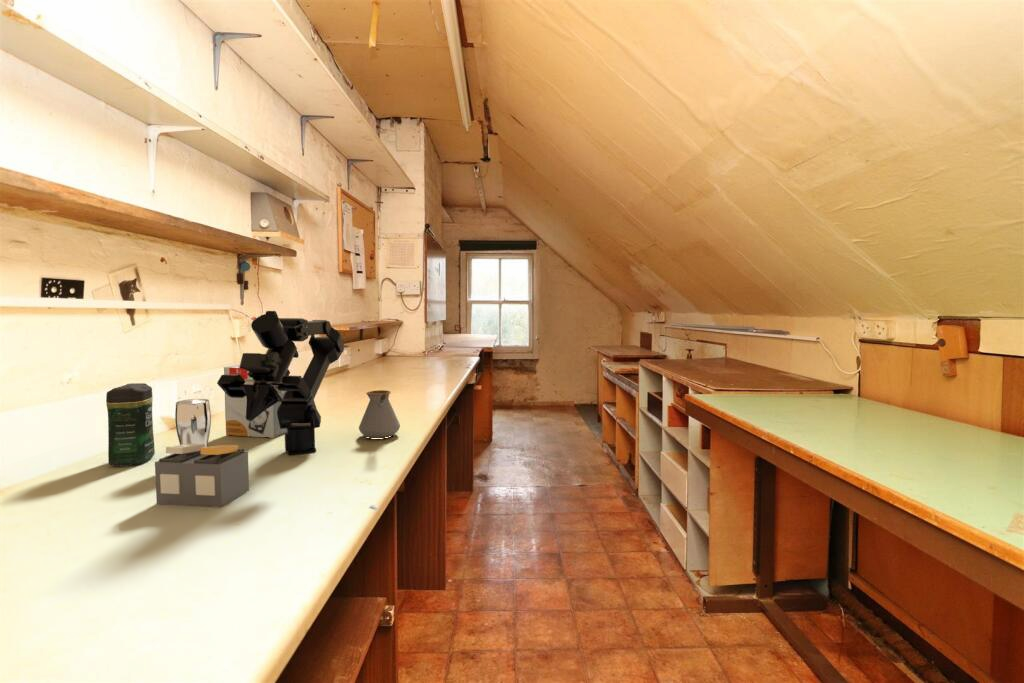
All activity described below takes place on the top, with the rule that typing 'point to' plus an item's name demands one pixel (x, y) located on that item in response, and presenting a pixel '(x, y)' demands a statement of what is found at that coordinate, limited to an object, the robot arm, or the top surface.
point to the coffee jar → (130, 424)
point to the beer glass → (193, 421)
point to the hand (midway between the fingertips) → (248, 419)
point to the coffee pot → (379, 416)
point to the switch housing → (201, 478)
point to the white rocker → (184, 448)
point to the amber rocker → (219, 449)
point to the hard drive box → (236, 414)
